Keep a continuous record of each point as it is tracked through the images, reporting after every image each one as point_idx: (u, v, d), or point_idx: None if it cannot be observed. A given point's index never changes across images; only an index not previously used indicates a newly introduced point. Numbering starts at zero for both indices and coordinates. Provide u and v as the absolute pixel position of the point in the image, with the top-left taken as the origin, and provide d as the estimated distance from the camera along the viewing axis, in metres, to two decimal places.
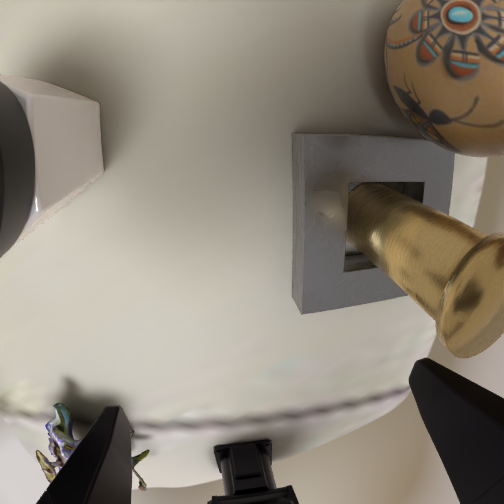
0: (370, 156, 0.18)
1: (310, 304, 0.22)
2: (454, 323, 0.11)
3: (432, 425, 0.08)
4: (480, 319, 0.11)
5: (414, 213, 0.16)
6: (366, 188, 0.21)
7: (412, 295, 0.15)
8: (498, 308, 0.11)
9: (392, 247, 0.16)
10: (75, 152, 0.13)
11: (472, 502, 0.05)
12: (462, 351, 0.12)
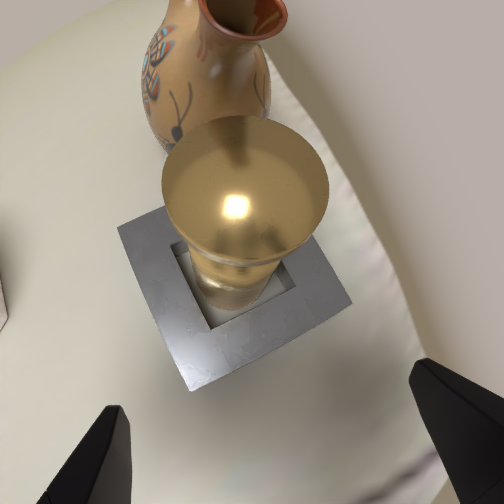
0: None
1: (193, 377, 0.18)
2: (178, 213, 0.10)
3: (432, 425, 0.08)
4: (232, 198, 0.11)
5: None
6: None
7: (209, 266, 0.14)
8: (262, 179, 0.11)
9: None
10: None
11: (472, 502, 0.05)
12: (242, 246, 0.10)
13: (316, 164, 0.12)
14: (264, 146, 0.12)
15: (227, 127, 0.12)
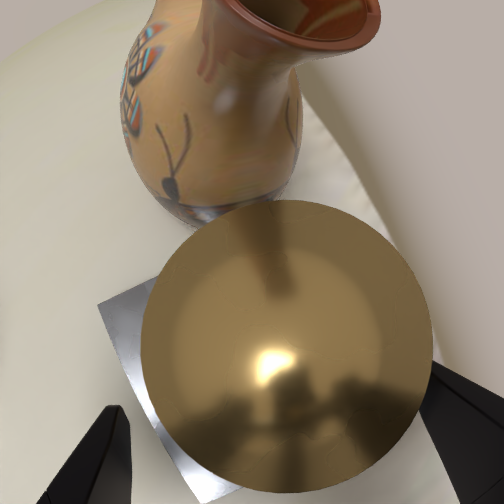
0: None
1: (205, 490, 0.13)
2: (180, 427, 0.05)
3: (432, 425, 0.08)
4: (278, 395, 0.05)
5: None
6: None
7: None
8: (331, 348, 0.06)
9: None
10: None
11: (472, 502, 0.05)
12: (297, 477, 0.05)
13: (414, 302, 0.06)
14: (331, 272, 0.06)
15: (261, 230, 0.06)
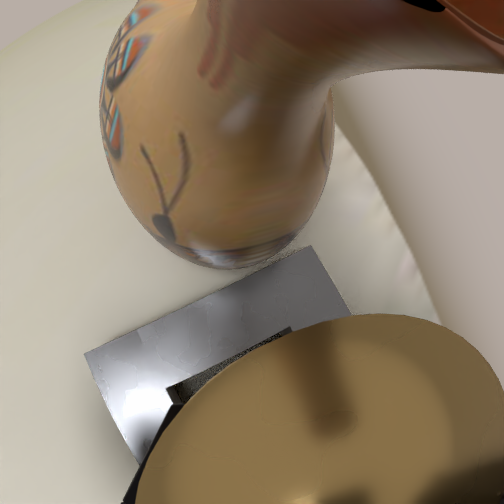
0: (178, 340, 0.13)
1: None
2: None
3: None
4: None
5: None
6: None
7: None
8: None
9: None
10: None
11: None
12: None
13: (501, 433, 0.03)
14: (416, 426, 0.03)
15: (317, 377, 0.04)
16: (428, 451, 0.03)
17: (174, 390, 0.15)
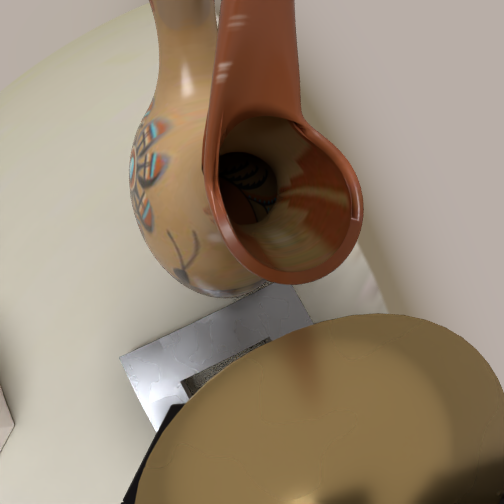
0: (189, 347, 0.19)
1: None
2: None
3: None
4: None
5: None
6: None
7: None
8: None
9: None
10: None
11: None
12: None
13: (501, 433, 0.03)
14: (416, 426, 0.03)
15: (316, 377, 0.04)
16: (428, 451, 0.03)
17: (185, 383, 0.20)
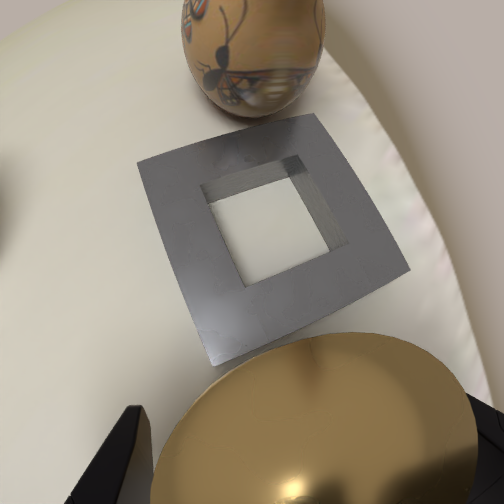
0: (213, 154, 0.18)
1: (219, 347, 0.14)
2: None
3: None
4: None
5: None
6: None
7: None
8: None
9: None
10: None
11: None
12: None
13: (466, 435, 0.04)
14: (383, 426, 0.04)
15: (298, 384, 0.04)
16: (395, 447, 0.04)
17: None
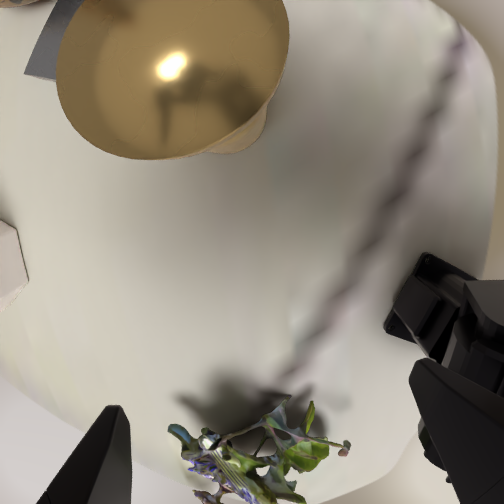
0: (58, 19, 0.14)
1: None
2: (134, 147, 0.07)
3: (432, 425, 0.08)
4: (170, 74, 0.06)
5: None
6: None
7: None
8: (178, 25, 0.06)
9: None
10: None
11: (472, 502, 0.05)
12: (232, 111, 0.06)
13: None
14: None
15: (87, 20, 0.06)
16: None
17: None
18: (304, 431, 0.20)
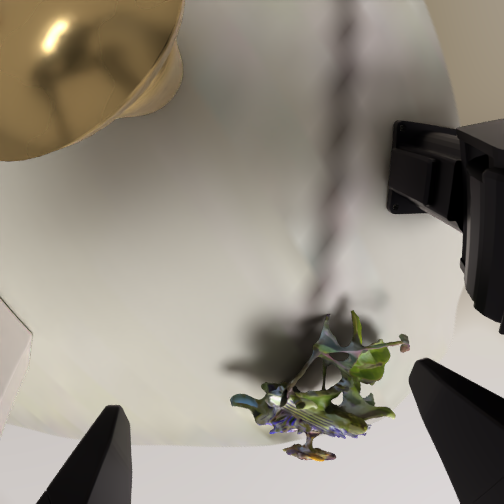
0: None
1: None
2: (52, 136, 0.05)
3: (432, 425, 0.08)
4: (56, 39, 0.04)
5: None
6: None
7: None
8: None
9: None
10: None
11: (472, 502, 0.05)
12: (145, 39, 0.04)
13: None
14: None
15: None
16: None
17: None
18: (359, 343, 0.21)
